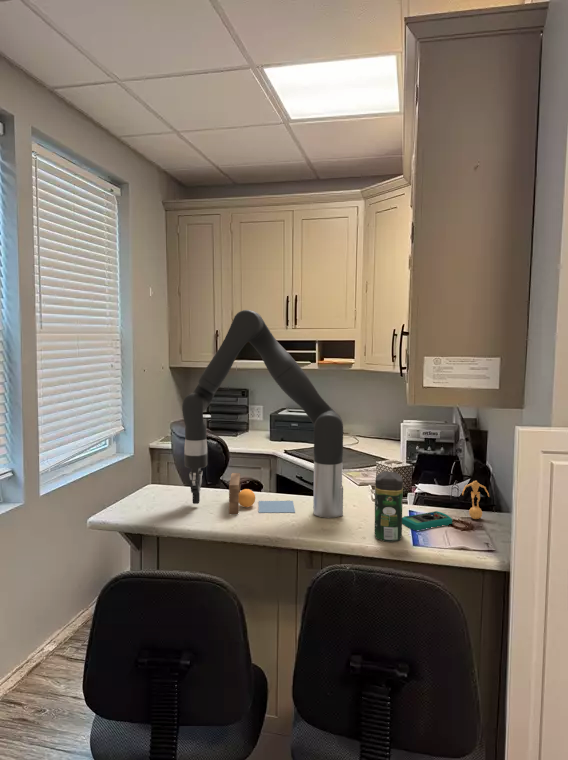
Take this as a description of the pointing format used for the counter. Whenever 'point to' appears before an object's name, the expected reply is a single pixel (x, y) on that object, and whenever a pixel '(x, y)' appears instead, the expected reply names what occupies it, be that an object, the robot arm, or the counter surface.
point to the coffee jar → (388, 506)
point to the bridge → (234, 493)
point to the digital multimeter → (426, 520)
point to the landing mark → (276, 507)
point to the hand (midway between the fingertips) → (196, 503)
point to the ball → (246, 498)
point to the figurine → (475, 510)
